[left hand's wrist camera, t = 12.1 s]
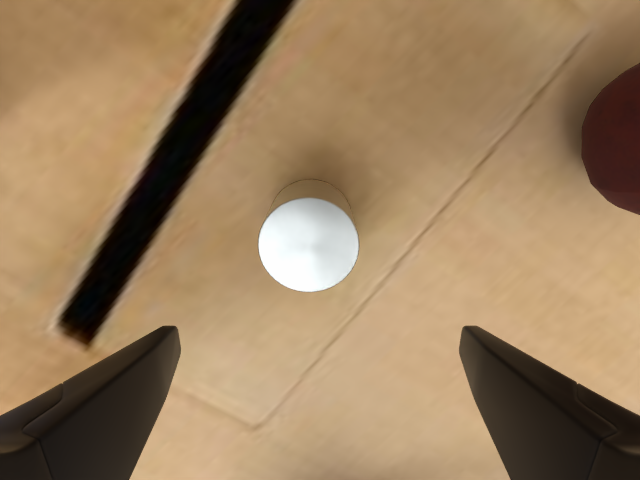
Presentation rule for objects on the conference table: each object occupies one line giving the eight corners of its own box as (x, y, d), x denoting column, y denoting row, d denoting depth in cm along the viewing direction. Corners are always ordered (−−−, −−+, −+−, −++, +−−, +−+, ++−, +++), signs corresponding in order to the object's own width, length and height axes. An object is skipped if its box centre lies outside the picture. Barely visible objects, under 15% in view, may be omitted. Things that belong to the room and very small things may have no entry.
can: (255, 234, 22) (240, 264, 18) (294, 163, 21) (288, 177, 17) (325, 271, 23) (326, 308, 19) (367, 205, 22) (379, 229, 18)
